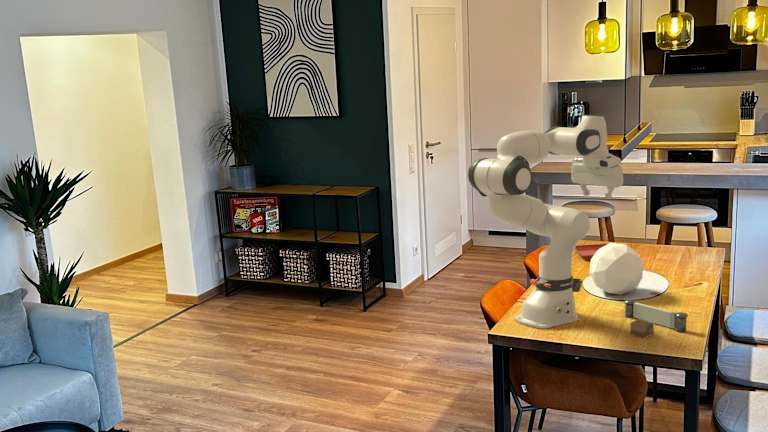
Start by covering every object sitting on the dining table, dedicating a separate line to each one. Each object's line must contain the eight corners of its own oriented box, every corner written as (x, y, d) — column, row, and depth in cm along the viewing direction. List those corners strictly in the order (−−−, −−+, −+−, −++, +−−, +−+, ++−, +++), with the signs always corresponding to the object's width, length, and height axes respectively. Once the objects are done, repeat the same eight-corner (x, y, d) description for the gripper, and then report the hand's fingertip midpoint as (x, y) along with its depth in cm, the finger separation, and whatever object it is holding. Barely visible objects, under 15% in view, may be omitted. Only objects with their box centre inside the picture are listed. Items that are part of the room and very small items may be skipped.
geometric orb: (629, 312, 266) (651, 280, 251) (578, 293, 268) (597, 260, 254) (633, 276, 278) (655, 243, 264) (584, 258, 281) (603, 225, 266)
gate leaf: (674, 328, 228) (674, 313, 227) (633, 317, 240) (633, 303, 239) (676, 327, 229) (677, 312, 228) (635, 316, 241) (635, 302, 240)
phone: (557, 288, 274) (561, 277, 287) (557, 291, 274) (561, 280, 288) (577, 289, 271) (581, 278, 285) (577, 292, 271) (581, 281, 285)
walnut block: (644, 338, 223) (644, 326, 222) (630, 334, 227) (630, 322, 226) (653, 334, 225) (653, 322, 225) (639, 330, 229) (639, 318, 229)
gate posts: (683, 333, 224) (683, 317, 223) (622, 316, 242) (622, 301, 241) (689, 330, 226) (689, 314, 225) (628, 314, 244) (628, 298, 243)
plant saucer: (581, 262, 312) (581, 254, 311) (572, 252, 330) (572, 245, 329) (622, 260, 311) (622, 253, 311) (611, 250, 329) (611, 243, 328)
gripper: (566, 159, 256) (568, 195, 260) (614, 163, 240) (615, 202, 244) (577, 155, 260) (579, 191, 263) (625, 159, 243) (626, 197, 247)
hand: (597, 196), depth 253 cm, fingers open, 8 cm apart
